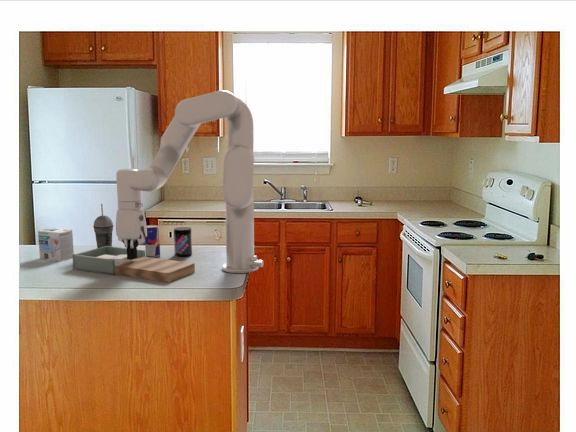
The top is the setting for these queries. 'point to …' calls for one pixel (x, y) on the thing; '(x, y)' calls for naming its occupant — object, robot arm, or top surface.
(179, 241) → the supplement container
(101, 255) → the tile
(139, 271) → the wooden cutting board
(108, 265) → the box
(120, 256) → the tile
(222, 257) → the top surface
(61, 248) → the light bulb box
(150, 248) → the energy drink
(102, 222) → the beverage cup
